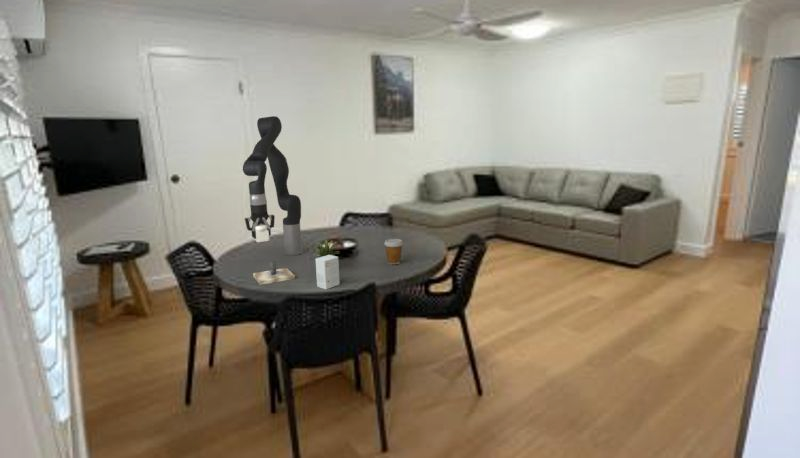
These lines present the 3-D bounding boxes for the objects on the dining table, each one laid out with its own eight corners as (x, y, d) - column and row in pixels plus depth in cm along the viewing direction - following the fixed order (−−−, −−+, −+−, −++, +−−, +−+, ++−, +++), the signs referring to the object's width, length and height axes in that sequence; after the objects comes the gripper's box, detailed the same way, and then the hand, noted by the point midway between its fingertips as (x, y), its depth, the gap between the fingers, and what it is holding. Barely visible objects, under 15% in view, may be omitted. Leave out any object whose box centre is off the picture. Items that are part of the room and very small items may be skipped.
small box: (330, 281, 203) (329, 254, 200) (340, 284, 199) (338, 256, 196) (316, 286, 197) (315, 258, 194) (326, 289, 193) (324, 261, 190)
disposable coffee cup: (406, 261, 232) (405, 239, 229) (398, 267, 223) (398, 243, 221) (389, 259, 236) (389, 237, 233) (381, 264, 227) (380, 242, 225)
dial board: (286, 270, 219) (285, 256, 218) (295, 278, 208) (294, 263, 206) (253, 276, 212) (252, 261, 210) (260, 284, 200) (258, 268, 198)
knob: (266, 238, 219) (265, 222, 218) (269, 240, 214) (268, 224, 212) (254, 239, 216) (252, 224, 215) (257, 242, 211) (255, 226, 210)
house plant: (327, 279, 207) (326, 245, 203) (305, 274, 214) (303, 241, 210) (347, 270, 218) (345, 238, 215) (325, 266, 226) (324, 235, 222)
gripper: (271, 200, 218) (274, 233, 222) (241, 203, 211) (244, 238, 215) (275, 202, 211) (278, 236, 215) (244, 206, 204) (248, 241, 208)
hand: (261, 237), depth 215 cm, fingers closed on knob, 6 cm apart
